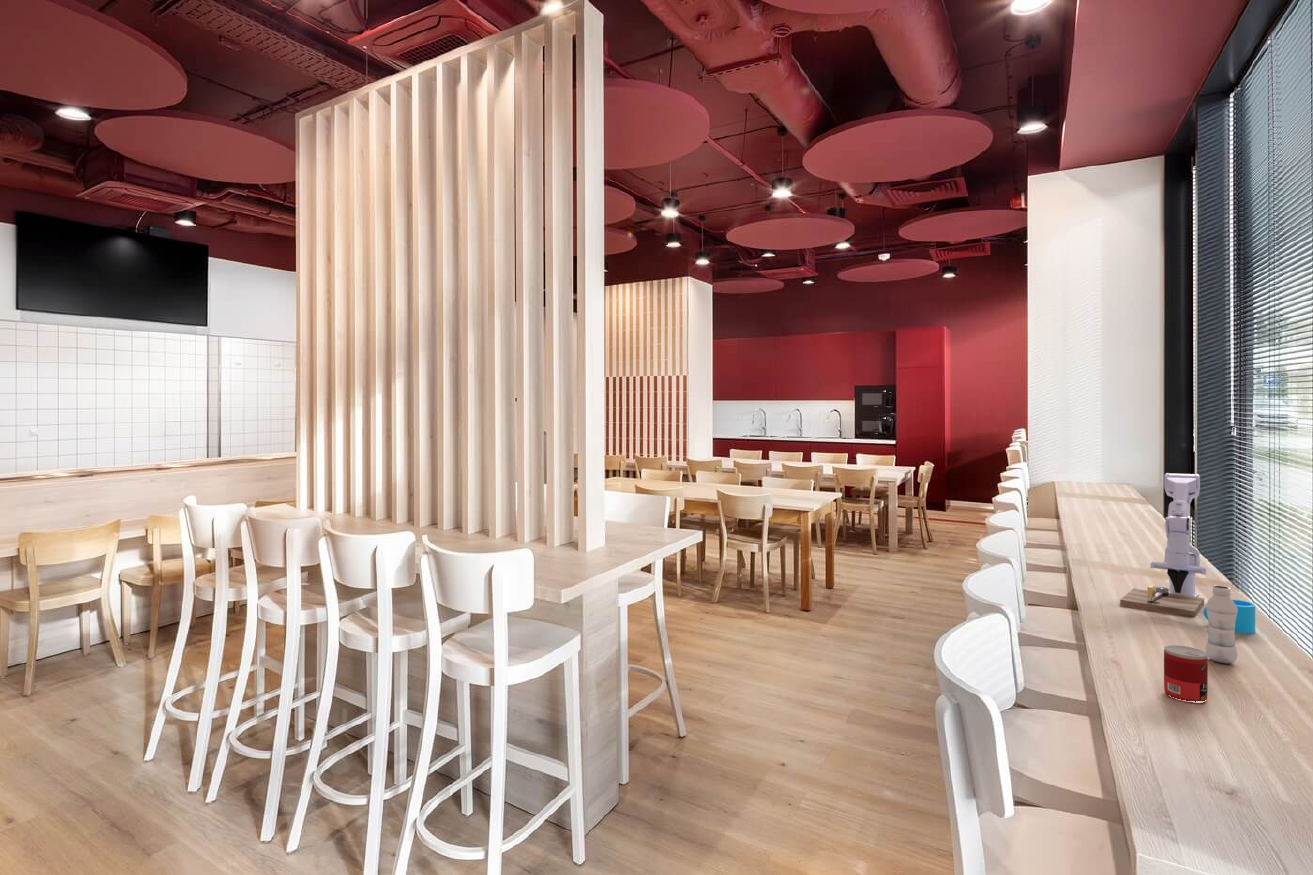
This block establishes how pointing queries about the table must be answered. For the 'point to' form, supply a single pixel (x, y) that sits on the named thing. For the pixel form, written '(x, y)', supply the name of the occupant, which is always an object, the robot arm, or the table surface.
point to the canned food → (1185, 673)
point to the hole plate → (1163, 603)
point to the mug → (1242, 617)
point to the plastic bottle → (1221, 626)
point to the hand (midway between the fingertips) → (1178, 592)
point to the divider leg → (1156, 592)
